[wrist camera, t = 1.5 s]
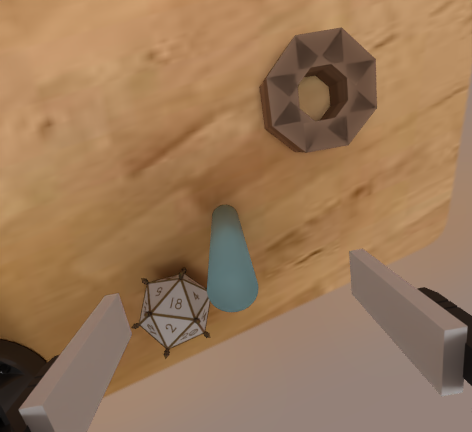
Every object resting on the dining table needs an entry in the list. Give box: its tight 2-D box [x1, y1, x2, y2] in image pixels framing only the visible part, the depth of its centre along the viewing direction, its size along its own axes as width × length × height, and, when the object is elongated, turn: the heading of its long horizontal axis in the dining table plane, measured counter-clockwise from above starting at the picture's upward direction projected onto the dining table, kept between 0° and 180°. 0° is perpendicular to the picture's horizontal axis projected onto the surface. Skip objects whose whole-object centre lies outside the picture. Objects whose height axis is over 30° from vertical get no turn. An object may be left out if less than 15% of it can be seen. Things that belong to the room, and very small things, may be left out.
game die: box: [132, 267, 210, 359], centre depth 29 cm, size 9×8×10 cm
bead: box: [260, 28, 377, 153], centre depth 26 cm, size 10×10×4 cm
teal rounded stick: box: [207, 205, 258, 312], centre depth 23 cm, size 3×3×16 cm
